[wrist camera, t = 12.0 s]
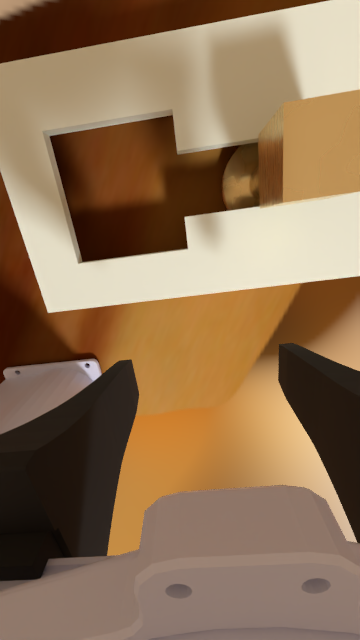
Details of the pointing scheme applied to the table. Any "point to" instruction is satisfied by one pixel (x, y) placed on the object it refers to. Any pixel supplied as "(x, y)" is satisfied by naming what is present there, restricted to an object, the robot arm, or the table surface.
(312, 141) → the keyhole peg
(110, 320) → the table surface
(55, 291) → the keyhole plate
